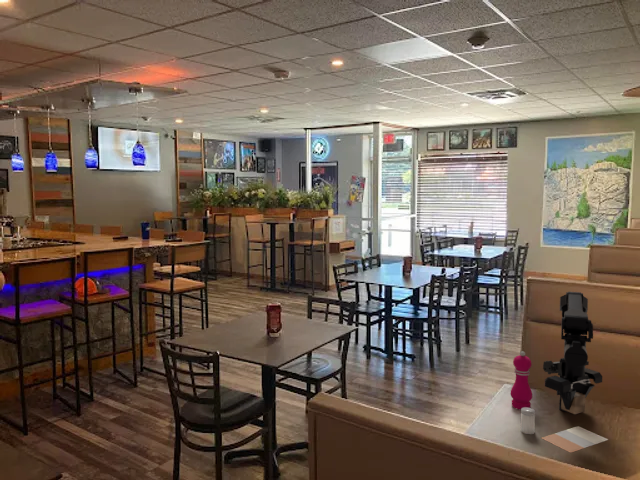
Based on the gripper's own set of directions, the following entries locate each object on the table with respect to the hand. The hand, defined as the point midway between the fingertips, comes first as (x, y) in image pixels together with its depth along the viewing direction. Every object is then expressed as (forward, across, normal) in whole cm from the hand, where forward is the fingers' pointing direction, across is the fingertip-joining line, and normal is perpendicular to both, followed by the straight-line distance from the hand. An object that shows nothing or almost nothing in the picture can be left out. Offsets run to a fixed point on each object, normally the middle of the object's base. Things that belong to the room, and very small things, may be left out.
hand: (572, 407), depth 148 cm
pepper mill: (+11, -9, -26) cm, 30 cm away
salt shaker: (+11, +7, -10) cm, 17 cm away
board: (+11, -2, 0) cm, 11 cm away
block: (+1, 0, 0) cm, 1 cm away
